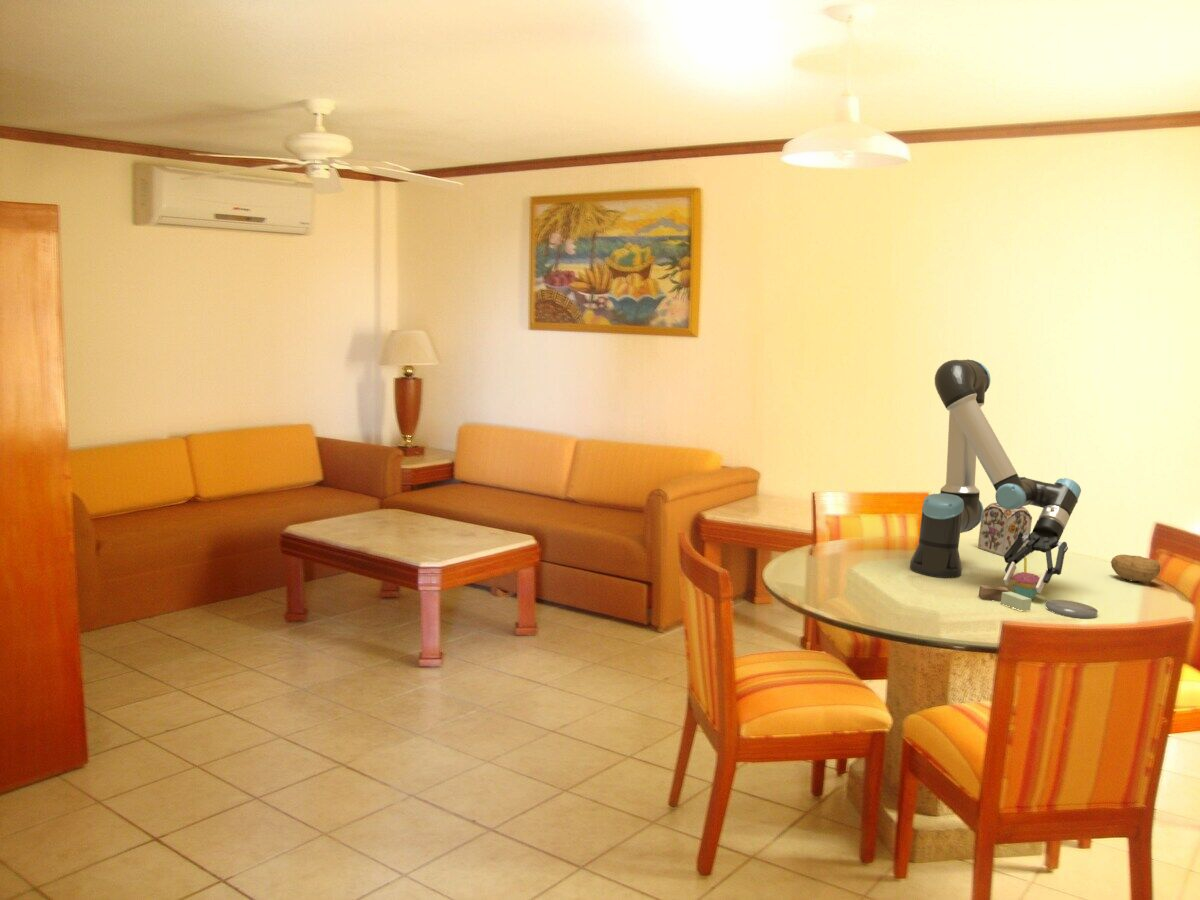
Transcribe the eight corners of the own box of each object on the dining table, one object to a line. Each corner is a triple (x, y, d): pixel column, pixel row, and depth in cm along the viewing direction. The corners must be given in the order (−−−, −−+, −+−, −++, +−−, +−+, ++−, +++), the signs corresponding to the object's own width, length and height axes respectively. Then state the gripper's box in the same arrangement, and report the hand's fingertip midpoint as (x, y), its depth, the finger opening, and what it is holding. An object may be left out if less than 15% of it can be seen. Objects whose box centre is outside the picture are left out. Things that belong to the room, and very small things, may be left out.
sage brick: (1000, 604, 282) (1001, 592, 282) (1009, 603, 284) (1011, 591, 283) (1020, 612, 276) (1022, 599, 276) (1029, 611, 278) (1031, 598, 277)
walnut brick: (981, 600, 286) (983, 588, 285) (978, 596, 289) (980, 584, 289) (1007, 602, 285) (1009, 590, 284) (1004, 599, 288) (1005, 587, 288)
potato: (1114, 573, 327) (1118, 549, 326) (1162, 584, 318) (1166, 559, 316) (1103, 578, 320) (1107, 553, 319) (1152, 589, 311) (1156, 563, 309)
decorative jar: (976, 548, 351) (982, 496, 348) (1001, 546, 356) (1007, 495, 353) (1003, 556, 340) (1010, 504, 338) (1028, 555, 345) (1035, 503, 343)
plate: (1044, 612, 277) (1045, 608, 276) (1045, 601, 288) (1046, 597, 288) (1097, 621, 271) (1098, 617, 271) (1096, 609, 283) (1096, 605, 283)
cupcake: (1002, 593, 293) (1007, 552, 292) (1025, 592, 296) (1030, 552, 295) (1024, 602, 285) (1030, 560, 284) (1048, 601, 289) (1053, 559, 287)
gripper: (1012, 509, 302) (982, 569, 293) (1086, 524, 288) (1057, 587, 279) (1017, 525, 307) (987, 585, 298) (1090, 540, 292) (1062, 603, 283)
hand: (1021, 586), depth 288 cm, fingers closed on cupcake, 8 cm apart
